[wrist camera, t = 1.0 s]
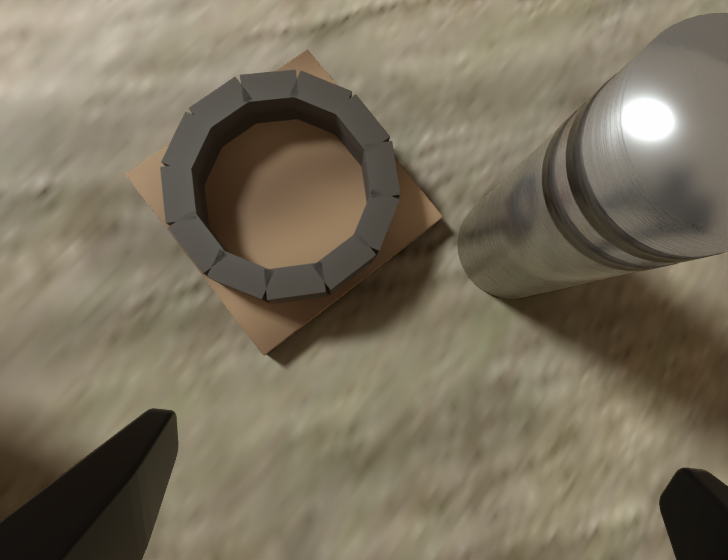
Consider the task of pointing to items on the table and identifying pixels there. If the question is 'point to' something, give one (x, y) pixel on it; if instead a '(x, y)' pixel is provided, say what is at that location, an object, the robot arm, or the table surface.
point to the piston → (617, 177)
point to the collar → (283, 196)
